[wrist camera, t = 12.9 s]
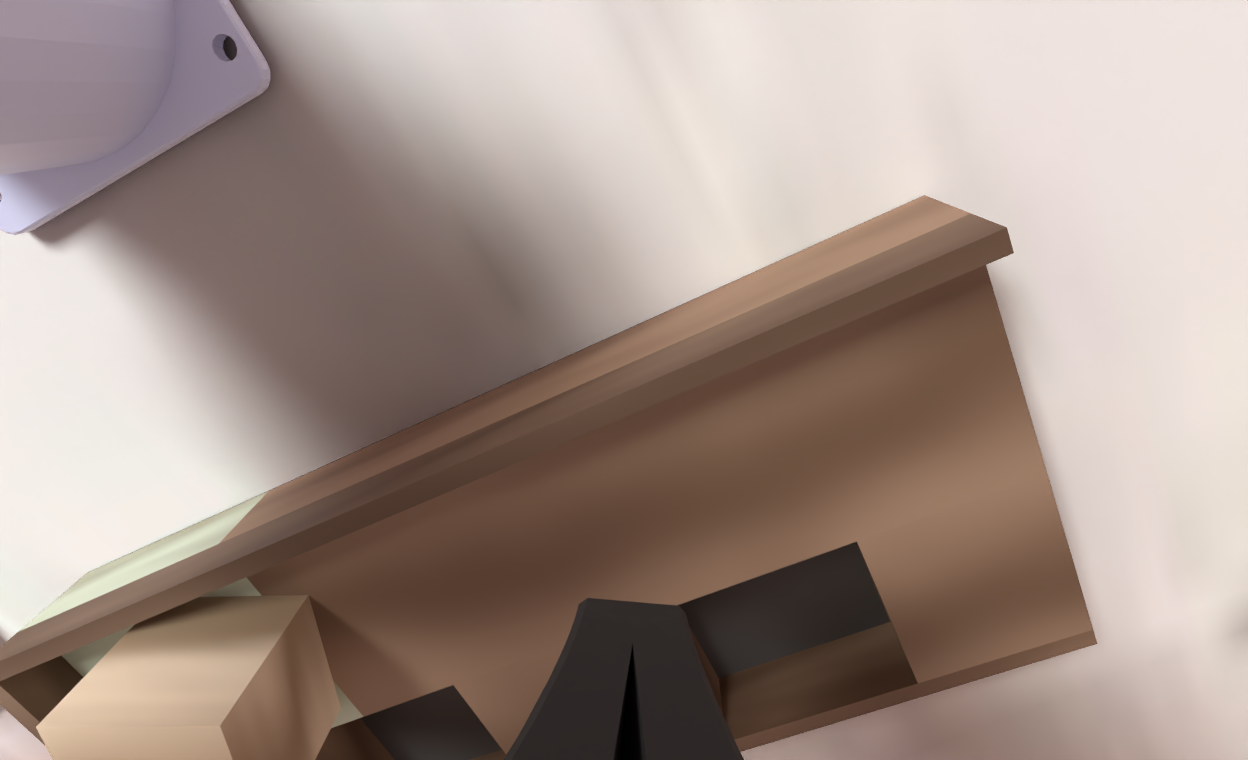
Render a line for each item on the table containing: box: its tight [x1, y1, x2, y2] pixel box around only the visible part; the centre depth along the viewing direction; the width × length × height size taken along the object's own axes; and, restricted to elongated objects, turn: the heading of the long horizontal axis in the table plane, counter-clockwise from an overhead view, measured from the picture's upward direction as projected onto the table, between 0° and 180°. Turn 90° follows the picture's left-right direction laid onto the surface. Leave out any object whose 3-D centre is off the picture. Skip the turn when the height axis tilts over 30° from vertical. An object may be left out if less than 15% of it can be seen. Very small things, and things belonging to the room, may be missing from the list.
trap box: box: [0, 195, 1097, 760], centre depth 19 cm, size 12×26×4 cm, turn 116°
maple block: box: [36, 595, 341, 760], centre depth 17 cm, size 4×4×4 cm
